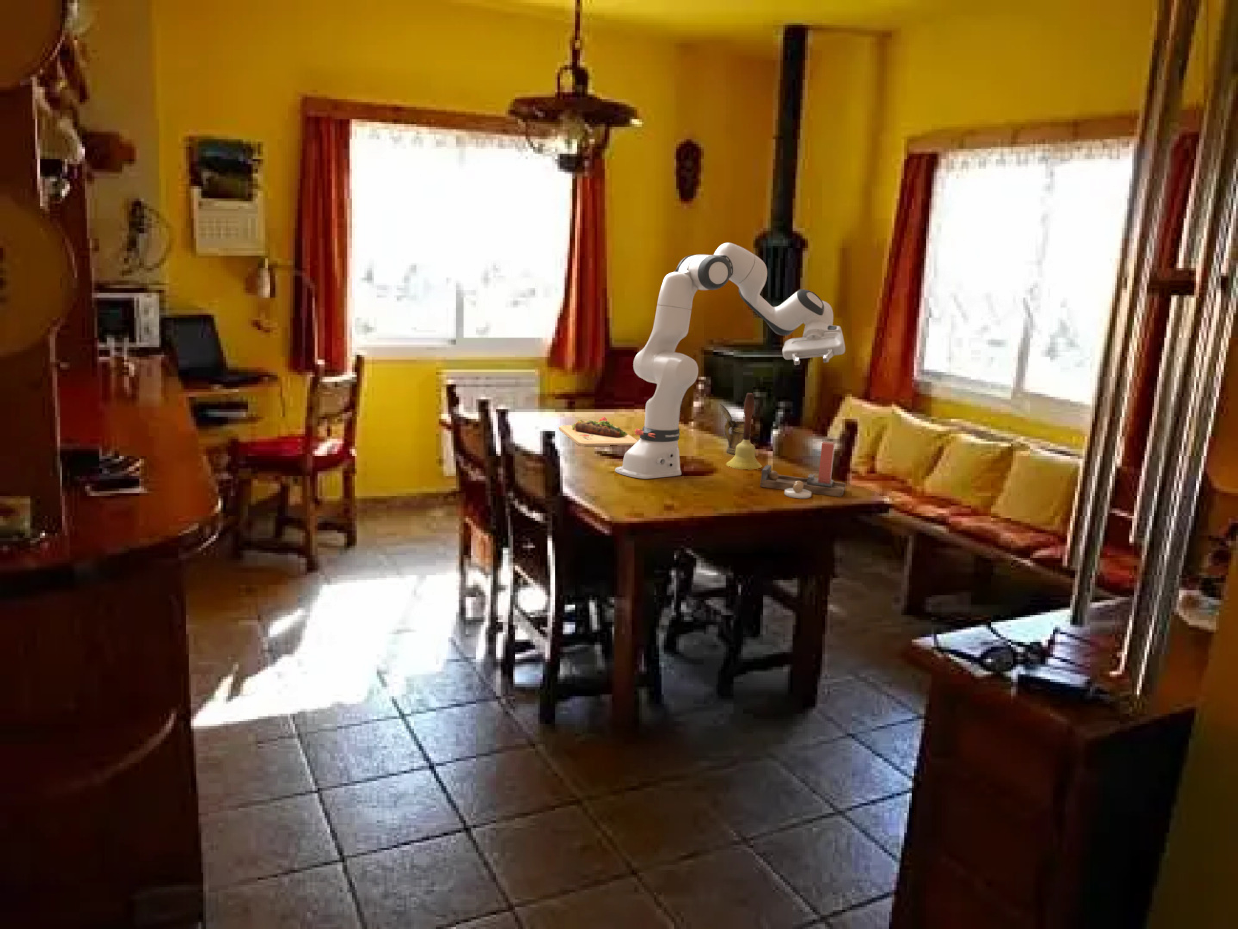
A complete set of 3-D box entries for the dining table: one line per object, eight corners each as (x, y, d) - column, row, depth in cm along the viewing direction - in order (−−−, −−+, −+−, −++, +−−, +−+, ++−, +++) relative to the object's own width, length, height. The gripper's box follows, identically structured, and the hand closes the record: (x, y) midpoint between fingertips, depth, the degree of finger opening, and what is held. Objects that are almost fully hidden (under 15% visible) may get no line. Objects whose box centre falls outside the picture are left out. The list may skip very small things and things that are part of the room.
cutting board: (557, 430, 381) (558, 411, 379) (614, 429, 388) (615, 411, 386) (580, 448, 348) (580, 427, 346) (641, 447, 355) (642, 427, 353)
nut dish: (801, 499, 287) (802, 486, 286) (779, 494, 293) (780, 480, 292) (816, 496, 293) (817, 482, 292) (794, 490, 298) (795, 477, 297)
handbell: (752, 461, 338) (758, 390, 333) (768, 469, 327) (775, 396, 321) (720, 462, 334) (725, 390, 329) (735, 470, 323) (741, 396, 317)
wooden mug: (711, 450, 353) (714, 401, 349) (744, 450, 357) (748, 402, 353) (721, 455, 345) (725, 406, 341) (755, 455, 349) (759, 406, 345)
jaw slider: (806, 486, 298) (810, 443, 295) (809, 482, 304) (813, 439, 301) (830, 489, 296) (835, 445, 293) (833, 484, 302) (837, 442, 299)
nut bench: (760, 486, 301) (761, 470, 300) (765, 480, 310) (767, 464, 309) (841, 496, 294) (843, 480, 292) (844, 489, 303) (846, 473, 302)
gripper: (783, 332, 324) (777, 357, 315) (845, 325, 316) (840, 351, 307) (787, 347, 328) (781, 372, 319) (848, 341, 320) (843, 366, 310)
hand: (810, 361), depth 313 cm, fingers open, 8 cm apart
